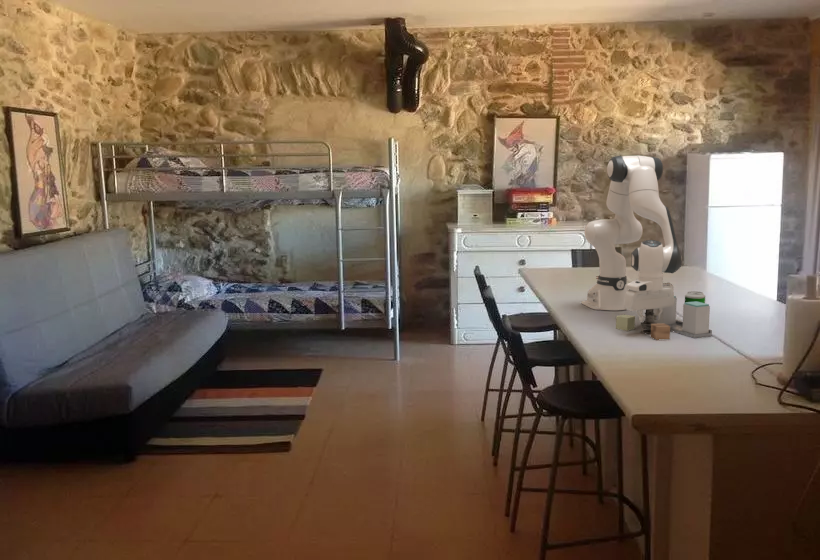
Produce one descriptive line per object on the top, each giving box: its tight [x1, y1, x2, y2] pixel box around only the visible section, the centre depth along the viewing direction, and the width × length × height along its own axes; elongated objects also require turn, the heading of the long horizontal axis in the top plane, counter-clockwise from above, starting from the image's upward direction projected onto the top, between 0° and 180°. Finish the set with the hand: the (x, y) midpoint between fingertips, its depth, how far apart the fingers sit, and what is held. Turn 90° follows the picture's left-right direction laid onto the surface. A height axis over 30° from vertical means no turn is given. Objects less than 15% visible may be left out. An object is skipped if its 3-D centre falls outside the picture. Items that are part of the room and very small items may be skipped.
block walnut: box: [650, 323, 671, 341], centre depth 275 cm, size 5×5×5 cm
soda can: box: [684, 290, 706, 304], centre depth 299 cm, size 8×8×12 cm
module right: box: [682, 301, 711, 334], centre depth 278 cm, size 7×6×11 cm
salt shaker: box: [640, 309, 657, 335], centre depth 283 cm, size 6×6×12 cm
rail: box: [655, 319, 713, 339], centre depth 288 cm, size 26×8×2 cm, turn 20°
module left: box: [653, 295, 678, 324], centre depth 295 cm, size 7×6×11 cm
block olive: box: [615, 314, 636, 332], centre depth 291 cm, size 5×5×5 cm
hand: (649, 320), depth 284 cm, fingers open, 5 cm apart
